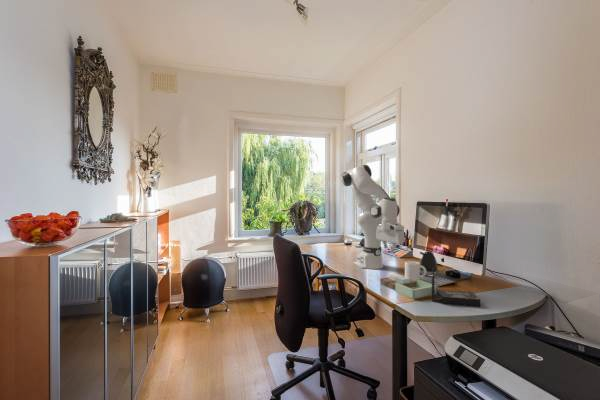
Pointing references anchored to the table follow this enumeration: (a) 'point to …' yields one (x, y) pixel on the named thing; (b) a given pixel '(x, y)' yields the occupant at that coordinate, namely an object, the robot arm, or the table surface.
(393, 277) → the tile rear
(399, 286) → the tray
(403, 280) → the tile front
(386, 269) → the table surface
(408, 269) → the mug
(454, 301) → the black rod on base
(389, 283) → the walnut board
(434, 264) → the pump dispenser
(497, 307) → the table surface
